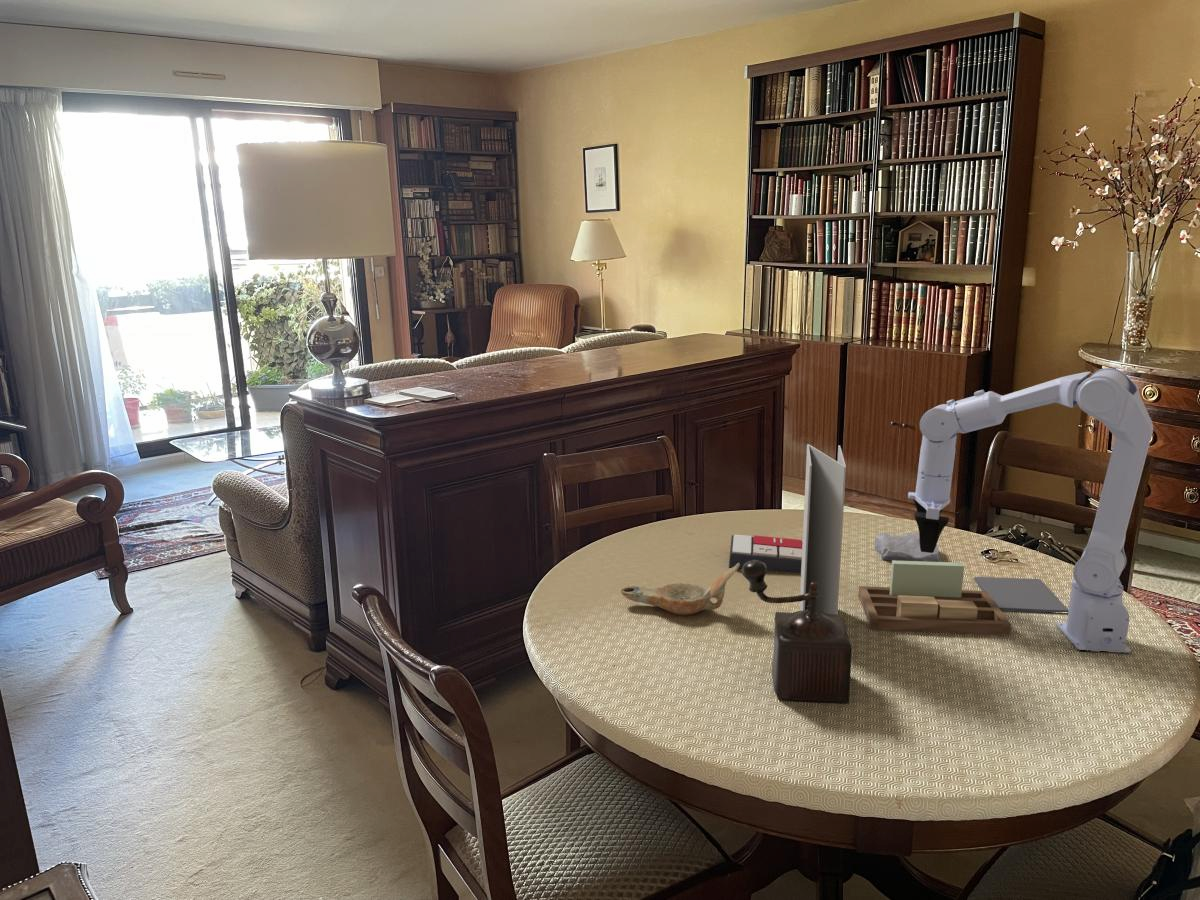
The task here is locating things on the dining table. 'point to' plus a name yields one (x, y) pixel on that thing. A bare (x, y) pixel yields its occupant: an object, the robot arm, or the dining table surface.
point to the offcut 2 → (957, 609)
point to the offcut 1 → (917, 606)
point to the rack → (884, 609)
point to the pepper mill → (806, 647)
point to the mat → (1020, 594)
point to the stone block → (903, 548)
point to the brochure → (823, 528)
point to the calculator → (767, 552)
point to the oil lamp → (682, 595)
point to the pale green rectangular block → (926, 578)
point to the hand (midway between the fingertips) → (926, 544)
